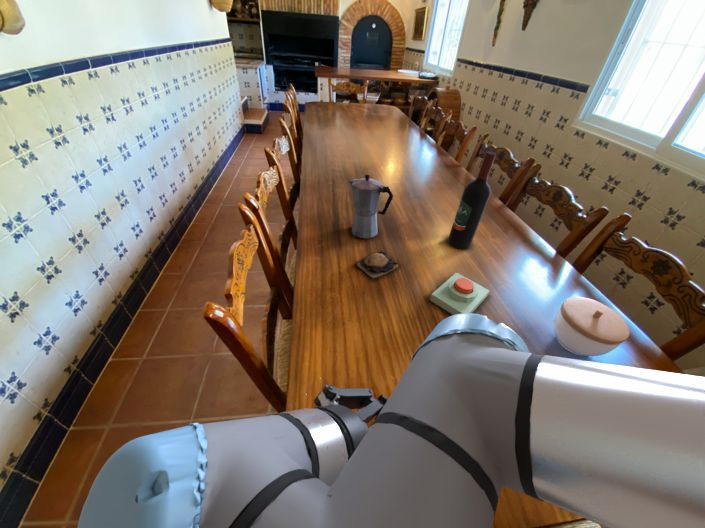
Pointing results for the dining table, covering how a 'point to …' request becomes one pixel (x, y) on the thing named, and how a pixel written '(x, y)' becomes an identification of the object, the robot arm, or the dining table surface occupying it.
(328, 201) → the dining table surface
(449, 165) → the dining table surface
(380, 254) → the bread roll
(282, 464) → the robot arm
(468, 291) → the button
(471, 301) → the button box
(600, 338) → the lidded bowl
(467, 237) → the wine bottle
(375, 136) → the dining table surface
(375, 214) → the moka pot
